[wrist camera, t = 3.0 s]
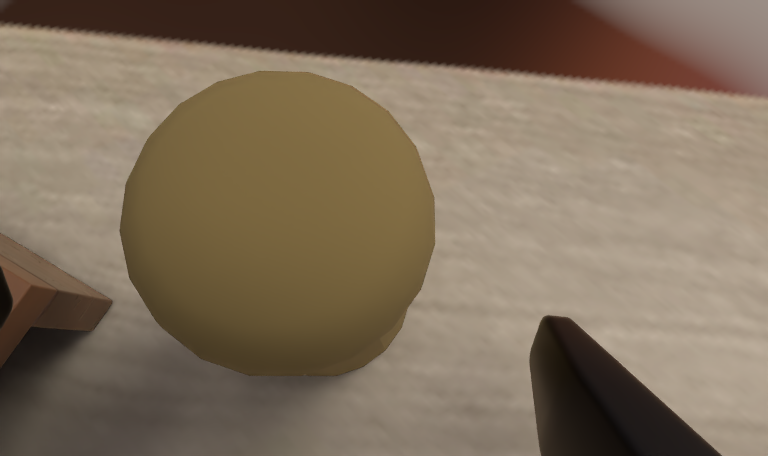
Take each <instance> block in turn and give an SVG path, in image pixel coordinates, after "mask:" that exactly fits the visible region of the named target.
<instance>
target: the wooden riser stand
mask: <svg viewBox="0 0 768 456" xmlns="http://www.w3.org/2000/svg"><path fill="white" fill-rule="evenodd" d="M0 265H1V267H2V269H3V272H4V275H5V278H6V280H7V283H8V286H9V289H10V291H11V294H12V297H13V308H12V311H11V313H10V315H9V317H8V319H7V320H6V322H5V324H4V325H3V327H2V329H1V330H0V368H1V367H2V365H3V364H4V363H5V361H6V360H7V358H8V357H9V356H10V354H11V353H12V352H13V350H14V349H15V348H16V346H17V345H18V344H19V342H20V341H21V339H22V338H23V337H24V335H25V334H26V333H27V331H28V330H29V329H30V327H40V328H54V329H67V330H80V331H93V330H94V328H95V327H96V325H97V324H98V323H99V321H100V320H101V318H102V317H103V315H104V314H105V313H106V311H107V310H108V308H109V307H110V305H111V304H112V300H110V299H109V298H107V297H105V296H104V295H102V294H100V293H99V292H97V291H96V290H94V289H92V288H91V287H89V286H87V285H86V284H84V283H82V282H81V281H79V280H77V279H76V278H74V277H72V276H71V275H69V274H67V273H66V272H64V271H62V270H61V269H59V268H57V267H56V266H54V265H53V264H51V263H49V262H48V261H46V260H44V259H43V258H41V257H39V256H38V255H36V254H34V253H33V252H31V251H29V250H28V249H26V248H24V247H23V246H21V245H19V244H18V243H16V242H15V241H13V240H11V239H10V238H8V237H6V236H5V235H3V234H1V233H0Z"/></svg>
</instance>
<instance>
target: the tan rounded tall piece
mask: <svg viewBox="0 0 768 456" xmlns="http://www.w3.org/2000/svg"><path fill="white" fill-rule="evenodd" d="M120 235H121V240H122V245H123V250H124V254H125V259H126V264H127V269H128V274H129V278H130V280H131V281H132V283H133V285H134V286H135V288H136V290H137V291H138V293H139V294H140V296H141V298H142V299H143V301H144V303H145V304H146V306H147V307H148V309H149V311H150V312H151V314H152V316H153V317H154V319H155V320H156V321H157V323H158V324H159V325H160V326H161V327H162V328H163V329H164V330H165V331H167V332H168V333H169V334H170V335H172V336H173V337H174V338H176V339H177V340H178V341H179V342H181V343H182V344H183V345H184V346H186V347H187V348H188V349H189V350H191V351H192V352H193V353H194V354H196V355H197V356H198V357H199V358H201V359H203V360H206V361H209V362H211V363H214V364H217V365H220V366H223V367H226V368H229V369H232V370H235V371H238V372H240V373H243V374H246V375H249V376H303V375H308V376H337V375H340V374H343V373H346V372H349V371H352V370H355V369H358V368H361V367H363V366H365V365H366V364H367V363H369V362H370V361H372V360H373V359H374V358H376V357H377V356H378V355H380V354H381V353H382V352H384V351H385V350H386V349H387V347H388V346H389V344H390V343H391V342H392V340H393V339H394V337H395V336H396V335H397V333H398V332H399V330H400V329H401V328H402V324H403V321H404V318H405V315H406V312H407V309H408V306H409V305H410V304H411V302H412V301H413V299H414V298H415V297H416V295H417V294H418V292H419V291H420V290H421V287H422V284H423V281H424V278H425V275H426V271H427V268H428V265H429V262H430V258H431V255H432V252H433V249H434V246H435V211H434V196H433V193H432V190H431V187H430V184H429V182H428V179H427V176H426V173H425V170H424V168H423V165H422V162H421V159H420V156H419V154H418V151H417V148H416V146H415V145H414V143H413V142H412V141H411V140H410V138H409V137H408V136H407V134H406V133H405V132H404V131H403V129H402V128H401V127H400V125H399V124H398V123H397V122H396V120H395V119H394V118H393V116H392V115H391V114H390V113H389V111H387V110H386V109H384V108H383V107H382V106H380V105H379V104H377V103H376V102H374V101H373V100H371V99H370V98H369V97H367V96H366V95H364V94H363V93H361V92H360V91H358V90H357V89H355V88H354V87H353V86H350V85H347V84H344V83H341V82H338V81H335V80H331V79H328V78H325V77H322V76H319V75H316V74H313V73H309V72H280V71H258V72H254V73H250V74H246V75H242V76H238V77H235V78H231V79H227V80H223V81H219V82H216V83H215V84H213V85H211V86H210V87H208V88H206V89H205V90H203V91H201V92H200V93H198V94H196V95H194V96H193V97H191V98H189V99H188V100H186V101H184V102H183V103H181V104H179V105H178V106H177V108H176V109H175V110H174V111H173V112H172V113H171V114H170V115H169V116H168V117H167V118H166V119H165V120H164V121H163V123H162V124H161V125H160V126H159V127H158V128H157V129H156V130H155V131H154V132H153V133H152V134H151V135H150V136H149V138H148V139H147V141H146V143H145V145H144V147H143V149H142V151H141V153H140V155H139V158H138V160H137V162H136V164H135V166H134V168H133V170H132V172H131V174H130V176H129V178H128V180H127V182H126V186H125V194H124V201H123V209H122V217H121V224H120Z"/></svg>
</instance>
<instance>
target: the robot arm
mask: <svg viewBox="0 0 768 456" xmlns="http://www.w3.org/2000/svg"><path fill="white" fill-rule="evenodd" d="M12 308H13V297H12V294H11V291H10V289H9V286H8V283H7V280H6V278H5V275H4V272H3V269H2V267H1V265H0V330H1V329H2V327H3V325H4V324H5V322H6V320H7V319H8V317H9V315H10V313H11V311H12ZM530 372H531V381H532V389H533V398H534V406H535V415H536V423H537V432H538V440H539V447H540V452H541V456H722V455H721V454H720V453H718V452H717V451H716V450H715V449H714V448H713V447H712V446H711V445H710V444H708V443H707V442H706V441H705V440H704V439H703V438H702V437H701V436H700V435H699V434H697V433H696V432H695V431H694V430H693V429H692V428H691V427H690V426H689V425H687V424H686V423H685V422H684V421H683V420H682V419H681V418H680V417H679V416H678V415H676V414H675V413H674V412H673V411H672V410H671V409H670V408H669V407H668V406H667V405H665V404H664V403H663V402H662V401H661V400H660V399H659V398H658V397H657V396H655V395H654V394H653V393H652V392H651V391H650V390H649V389H648V388H647V387H646V386H644V385H643V384H642V383H641V382H640V381H639V380H638V379H637V378H636V377H634V376H633V375H632V374H631V373H630V372H629V371H628V370H627V369H626V368H625V367H623V366H622V365H621V364H620V363H619V362H618V361H617V360H616V359H615V358H614V357H612V356H611V355H610V354H609V353H608V352H607V351H606V350H605V349H604V348H602V347H601V346H600V345H599V344H598V343H597V342H596V341H595V340H594V339H593V338H591V337H590V336H589V335H588V334H587V333H586V332H585V331H584V330H583V329H581V328H580V327H579V326H578V325H577V324H576V323H575V322H574V321H573V320H571V319H570V318H567V317H560V316H550V315H547V316H545V317H543V319H542V320H541V322H540V325H539V328H538V331H537V333H536V336H535V339H534V342H533V345H532V348H531V351H530Z"/></svg>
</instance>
